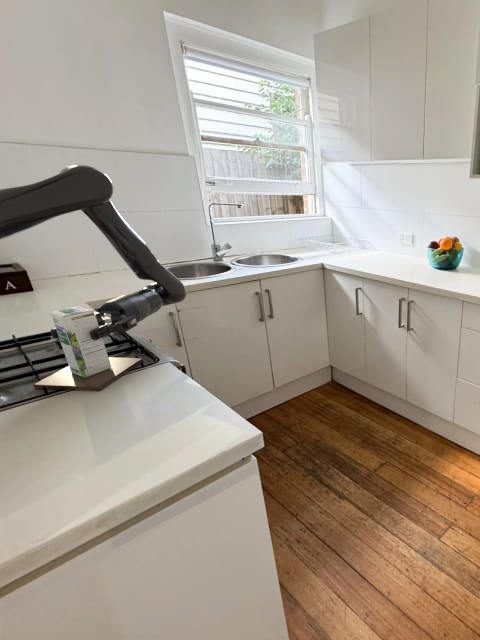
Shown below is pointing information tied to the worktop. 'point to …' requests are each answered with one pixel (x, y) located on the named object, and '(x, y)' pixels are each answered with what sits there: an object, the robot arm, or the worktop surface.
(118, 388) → the worktop surface
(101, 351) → the syrup box
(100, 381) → the walnut board
